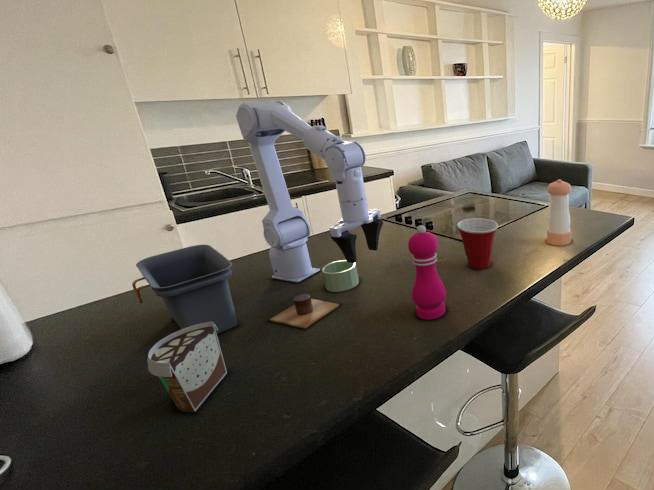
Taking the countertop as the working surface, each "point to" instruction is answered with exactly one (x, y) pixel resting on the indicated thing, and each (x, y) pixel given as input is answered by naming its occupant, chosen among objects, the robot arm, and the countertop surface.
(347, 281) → the green cup
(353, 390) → the countertop surface
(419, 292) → the pepper mill
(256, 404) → the countertop surface
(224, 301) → the storage bin
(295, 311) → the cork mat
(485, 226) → the plastic cup
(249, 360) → the countertop surface
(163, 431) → the countertop surface
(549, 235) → the salt shaker
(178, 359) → the food container
